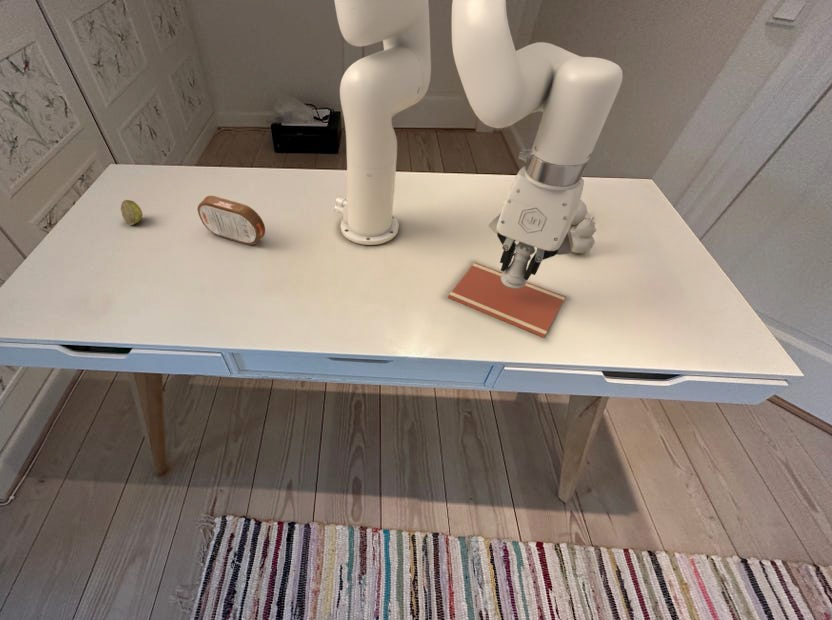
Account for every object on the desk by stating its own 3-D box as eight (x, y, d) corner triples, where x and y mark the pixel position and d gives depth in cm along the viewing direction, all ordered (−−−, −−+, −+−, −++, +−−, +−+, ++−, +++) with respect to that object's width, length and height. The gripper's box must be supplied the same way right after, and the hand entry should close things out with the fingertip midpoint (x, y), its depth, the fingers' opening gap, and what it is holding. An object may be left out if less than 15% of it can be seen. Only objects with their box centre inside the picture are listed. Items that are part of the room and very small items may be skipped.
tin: (269, 243, 89) (262, 206, 82) (260, 251, 87) (253, 214, 81) (210, 226, 93) (199, 190, 86) (202, 233, 91) (190, 197, 85)
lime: (142, 227, 93) (132, 207, 89) (120, 227, 93) (110, 206, 89) (149, 216, 95) (140, 195, 92) (128, 216, 96) (118, 195, 92)
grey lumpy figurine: (592, 259, 85) (610, 224, 79) (558, 256, 85) (574, 222, 79) (586, 243, 88) (604, 208, 82) (554, 241, 89) (569, 206, 83)
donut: (588, 230, 91) (577, 204, 97) (595, 216, 89) (583, 191, 95) (540, 228, 92) (533, 202, 98) (546, 214, 89) (538, 189, 95)
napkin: (447, 297, 78) (448, 295, 78) (474, 263, 84) (474, 261, 84) (543, 338, 71) (544, 336, 71) (564, 298, 78) (565, 296, 77)
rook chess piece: (496, 274, 76) (508, 236, 70) (520, 273, 76) (535, 235, 70) (504, 291, 73) (517, 253, 67) (529, 289, 74) (545, 251, 67)
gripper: (488, 162, 60) (463, 266, 74) (610, 195, 54) (557, 301, 68) (508, 142, 64) (480, 244, 78) (624, 171, 58) (571, 276, 72)
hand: (516, 270), depth 73 cm, fingers closed on rook chess piece, 3 cm apart
